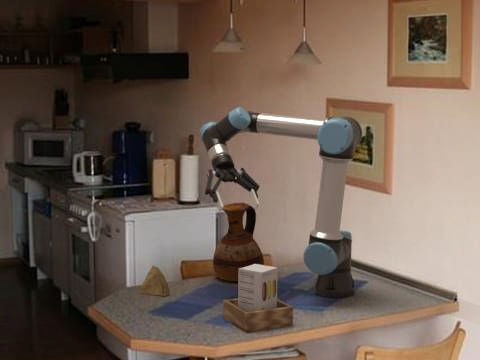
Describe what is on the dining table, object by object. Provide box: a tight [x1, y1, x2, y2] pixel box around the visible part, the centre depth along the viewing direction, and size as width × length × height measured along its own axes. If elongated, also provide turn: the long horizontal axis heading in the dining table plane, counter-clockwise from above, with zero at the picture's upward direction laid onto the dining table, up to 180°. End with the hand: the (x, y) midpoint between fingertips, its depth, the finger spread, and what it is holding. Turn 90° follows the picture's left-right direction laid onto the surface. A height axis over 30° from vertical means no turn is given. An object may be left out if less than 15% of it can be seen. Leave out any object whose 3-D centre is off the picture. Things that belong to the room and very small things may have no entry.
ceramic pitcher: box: [212, 202, 265, 282], centre depth 316 cm, size 20×20×30 cm
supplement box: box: [237, 264, 278, 312], centre depth 260 cm, size 10×9×17 cm
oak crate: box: [222, 298, 294, 333], centre depth 261 cm, size 17×17×6 cm
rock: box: [139, 265, 170, 297], centre depth 293 cm, size 11×9×10 cm
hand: (239, 207), depth 278 cm, fingers open, 13 cm apart
